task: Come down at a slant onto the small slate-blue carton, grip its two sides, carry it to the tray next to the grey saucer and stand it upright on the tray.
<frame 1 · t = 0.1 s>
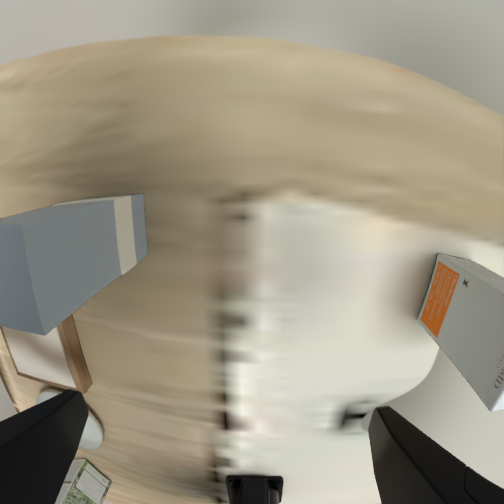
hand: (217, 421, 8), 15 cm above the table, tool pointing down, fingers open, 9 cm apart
skincare box: (443, 290, 22), on the table
carton: (115, 225, 22), on the table
tray: (42, 334, 25), on the table
syrup box: (89, 469, 31), on the table
saucer: (73, 415, 27), on the table
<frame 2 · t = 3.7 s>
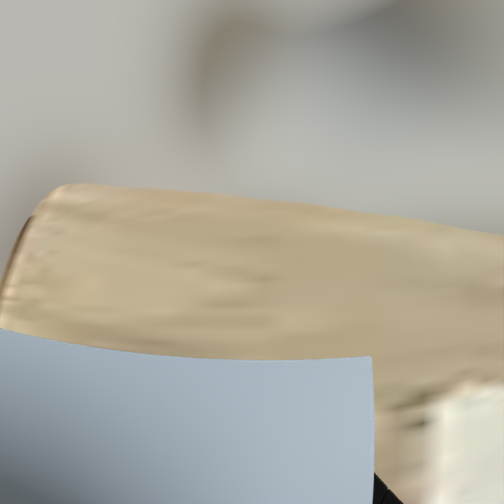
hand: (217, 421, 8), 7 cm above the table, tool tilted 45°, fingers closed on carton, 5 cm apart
carton: (238, 444, 13), on the table, touching gripper
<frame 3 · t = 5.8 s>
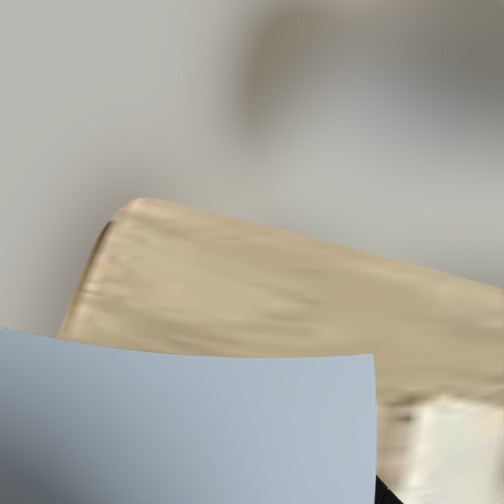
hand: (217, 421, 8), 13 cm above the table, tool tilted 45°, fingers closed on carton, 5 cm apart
carton: (238, 444, 13), point 7 cm above the table, touching gripper
when the fingers open (10 cm above the table, at t = 8.0 s): carton drops 1 cm, resting on tray.
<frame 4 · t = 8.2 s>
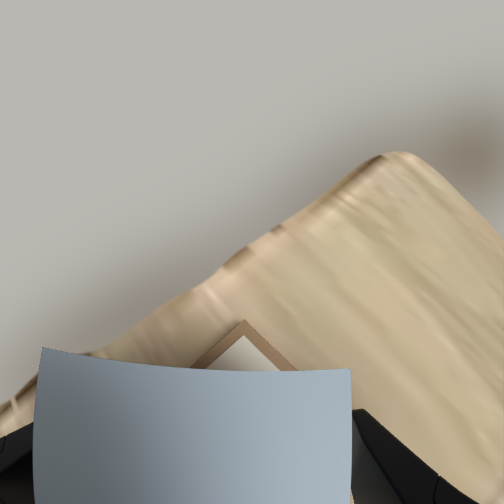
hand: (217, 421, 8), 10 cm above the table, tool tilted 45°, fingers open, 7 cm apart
carton: (241, 441, 14), point 2 cm above the table, touching tray
tray: (243, 439, 15), on the table
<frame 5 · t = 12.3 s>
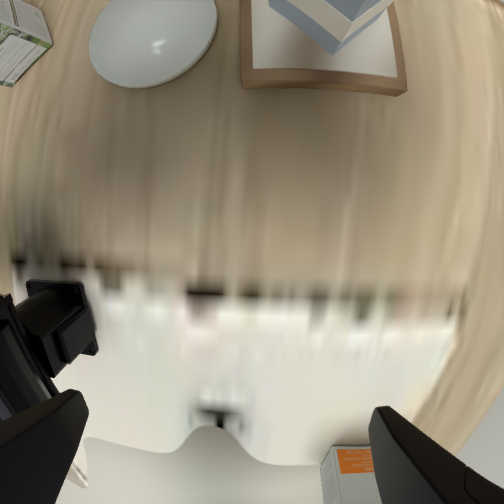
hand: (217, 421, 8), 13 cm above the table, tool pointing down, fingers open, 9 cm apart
skincare box: (351, 455, 25), on the table
carton: (324, 10, 14), point 2 cm above the table, touching tray
tray: (318, 23, 16), on the table
syrup box: (27, 48, 16), on the table
saucer: (155, 33, 16), on the table
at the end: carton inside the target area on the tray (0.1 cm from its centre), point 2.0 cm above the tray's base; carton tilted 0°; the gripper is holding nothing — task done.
